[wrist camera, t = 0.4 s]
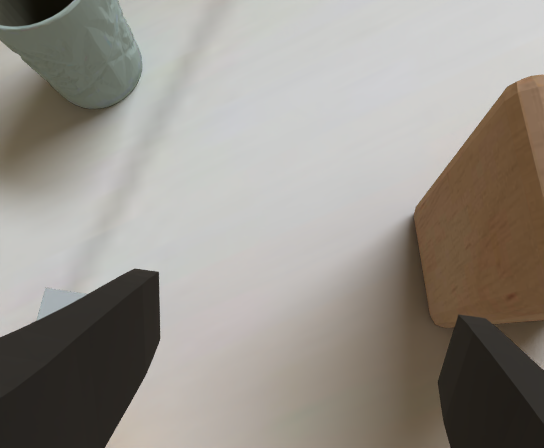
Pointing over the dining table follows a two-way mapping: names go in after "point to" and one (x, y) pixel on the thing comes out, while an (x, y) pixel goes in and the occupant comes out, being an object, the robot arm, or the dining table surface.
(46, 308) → the slate block
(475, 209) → the block
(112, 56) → the grey cup
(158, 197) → the dining table surface
